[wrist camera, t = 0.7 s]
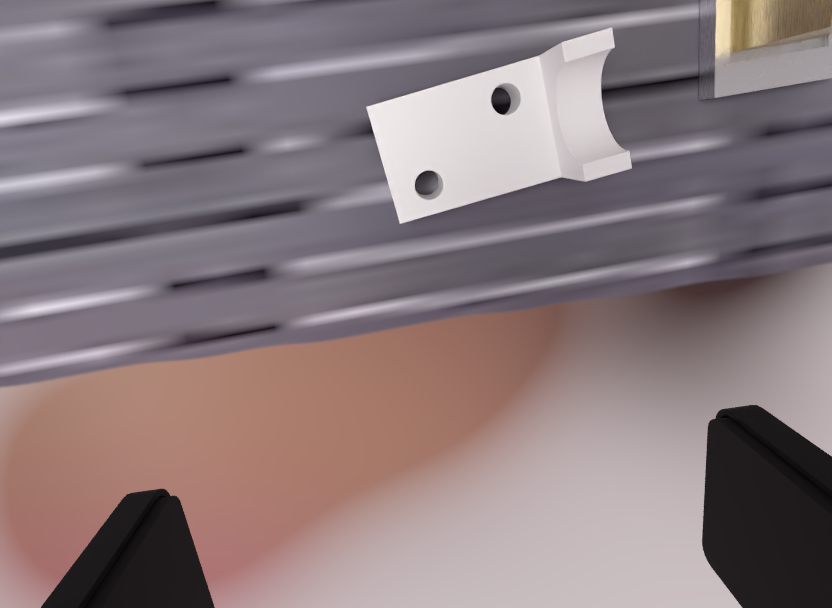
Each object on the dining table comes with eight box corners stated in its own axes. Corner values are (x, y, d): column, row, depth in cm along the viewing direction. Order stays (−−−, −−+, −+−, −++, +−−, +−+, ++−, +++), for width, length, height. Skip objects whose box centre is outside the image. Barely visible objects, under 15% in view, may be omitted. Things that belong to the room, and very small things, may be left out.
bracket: (562, 53, 33) (611, 27, 25) (581, 163, 35) (632, 168, 28) (368, 110, 33) (362, 101, 26) (399, 216, 35) (401, 234, 28)
